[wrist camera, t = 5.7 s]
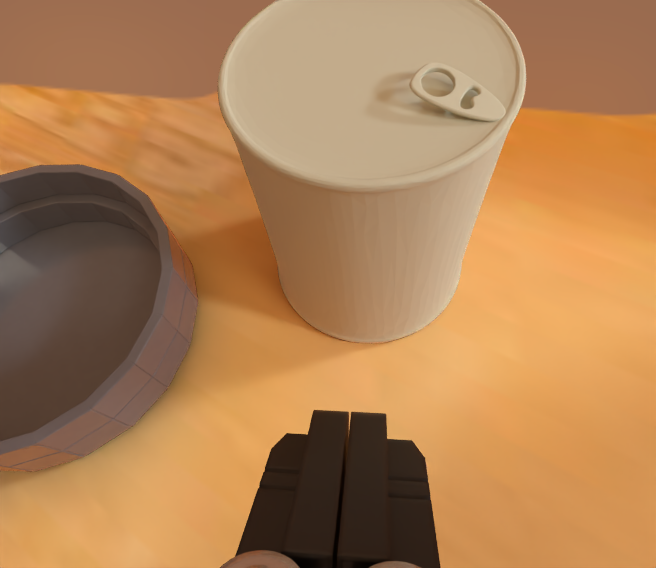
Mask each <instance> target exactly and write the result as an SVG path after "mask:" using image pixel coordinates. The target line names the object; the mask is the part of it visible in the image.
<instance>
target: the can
mask: <svg viewBox="0 0 656 568" xmlns="http://www.w3.org/2000/svg"><path fill="white" fill-rule="evenodd" d="M525 87H526V66H525V61H524V57H523V54H522V51H521V48H520V45H519V43H518V41H517V39H516V37H515V36H514V34H513V33H512V31H511V30H510V28H509V27H508V26H507V24H506V23H505V22H504V21H503V20H502V19H501V18H500V17H499V16H498V15H497V14H496V13H495V12H494V11H493V10H491V9H490V8H489V7H487V6H486V5H485V4H483V3H482V2H481V1H479V0H277V1H275V2H273V3H272V4H270V5H269V6H267V7H266V8H264V9H263V10H261V11H260V12H259V13H258V14H256V15H255V16H254V17H253V18H252V19H251V20H250V21H248V22H247V24H246V25H245V26H244V27H243V28H242V29H241V30H240V31H239V32H238V34H237V35H236V37H235V38H234V40H233V41H232V43H231V44H230V46H229V47H228V49H227V51H226V53H225V56H224V58H223V61H222V64H221V67H220V72H219V77H218V99H219V105H220V109H221V112H222V115H223V118H224V120H225V123H226V125H227V127H228V128H229V130H230V131H231V134H232V136H233V139H234V141H235V143H236V146H237V149H238V151H239V154H240V157H241V160H242V162H243V165H244V168H245V171H246V173H247V176H248V179H249V182H250V185H251V187H252V190H253V193H254V196H255V198H256V201H257V204H258V207H259V210H260V213H261V216H262V219H263V222H264V225H265V228H266V231H267V234H268V237H269V240H270V242H271V245H272V248H273V251H274V255H275V258H276V261H277V264H278V274H279V280H280V283H281V286H282V289H283V292H284V294H285V296H286V297H287V299H288V301H289V303H290V304H291V306H292V307H293V308H294V310H295V311H296V312H297V313H298V314H299V315H300V316H301V317H302V318H303V319H304V320H305V321H306V322H308V323H309V324H310V325H311V326H313V327H315V328H316V329H318V330H319V331H321V332H323V333H325V334H327V335H330V336H332V337H335V338H338V339H341V340H345V341H350V342H356V343H382V342H388V341H393V340H397V339H400V338H403V337H406V336H408V335H411V334H413V333H415V332H417V331H419V330H421V329H422V328H424V327H425V326H427V325H428V324H429V323H431V322H432V321H433V320H434V319H436V318H437V317H438V316H439V315H440V314H441V313H442V311H443V310H444V309H445V308H446V307H447V305H448V304H449V302H450V300H451V299H452V297H453V295H454V293H455V291H456V288H457V285H458V282H459V279H460V273H461V263H462V260H463V257H464V254H465V251H466V248H467V245H468V242H469V239H470V236H471V233H472V230H473V227H474V225H475V222H476V219H477V216H478V213H479V210H480V207H481V204H482V202H483V199H484V196H485V193H486V191H487V188H488V185H489V182H490V180H491V177H492V174H493V171H494V169H495V166H496V163H497V160H498V158H499V155H500V152H501V150H502V147H503V144H504V142H505V139H506V137H507V134H508V132H509V129H510V127H511V125H512V123H513V121H514V120H515V118H516V116H517V114H518V112H519V110H520V107H521V104H522V101H523V97H524V93H525Z"/></svg>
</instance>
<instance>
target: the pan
mask: <svg viewBox="0 0 656 568" xmlns="http://www.w3.org/2000/svg"><path fill="white" fill-rule="evenodd" d="M197 306H198V296H197V290H196V284H195V278H194V272H193V266H192V263H191V262H190V260H189V259H188V257H187V255H186V254H185V252H184V250H183V249H182V247H181V245H180V244H179V242H178V241H177V239H176V237H175V236H174V234H173V233H172V231H171V230H170V228H169V227H168V225H167V224H166V222H165V221H164V219H163V218H162V216H161V215H160V213H159V212H158V210H157V209H156V207H155V205H154V204H153V202H152V201H151V199H150V198H149V197H148V196H147V195H146V194H145V193H143V192H142V191H140V190H139V189H138V188H136V187H135V186H133V185H132V184H131V183H129V182H128V181H126V180H125V179H124V178H122V177H121V176H119V175H117V174H114V173H110V172H106V171H103V170H99V169H95V168H92V167H88V166H84V165H39V166H34V167H30V168H26V169H23V170H19V171H15V172H11V173H7V174H3V175H0V471H25V472H32V471H39V470H42V469H45V468H49V467H52V466H56V465H59V464H62V463H66V462H69V461H73V460H76V459H79V458H83V457H85V456H87V455H88V454H90V453H91V452H93V451H95V450H96V449H98V448H99V447H101V446H102V445H104V444H106V443H107V442H109V441H110V440H112V439H113V438H115V437H117V436H118V435H120V434H121V433H123V432H125V431H126V430H128V429H129V428H130V427H132V426H133V425H134V424H135V423H136V422H137V421H138V420H139V419H140V418H141V417H142V416H143V415H144V414H145V412H146V411H147V410H148V409H149V408H150V407H151V406H152V405H153V404H154V403H155V402H156V401H157V399H158V398H159V397H160V396H161V395H162V394H163V393H164V392H165V391H166V390H167V387H169V385H170V383H171V381H172V379H173V377H174V376H175V374H176V372H177V370H178V368H179V366H180V364H181V362H182V360H183V358H184V356H185V354H186V352H187V350H188V349H189V347H190V343H191V339H192V333H193V328H194V322H195V317H196V311H197Z"/></svg>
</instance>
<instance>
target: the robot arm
mask: <svg viewBox="0 0 656 568" xmlns="http://www.w3.org/2000/svg"><path fill="white" fill-rule="evenodd" d="M220 568H440V561H439V554H438V547H437V540H436V533H435V526H434V518H433V511H432V504H431V500H430V490H429V483H428V476H427V469H426V462H425V457H424V456H423V455H422V453H421V452H420V451H419V449H418V448H417V447H416V445H415V444H414V443H413V441H411V440H394V439H387V425H386V414H382V413H363V412H351V420H350V430H349V412H342V411H323V410H314V411H313V415H312V419H311V423H310V428H309V432H308V435H306V434H289V433H287V434H286V435H285V436H284V437H283V438H282V439H281V440H280V441H279V442H278V443H277V444H276V445H275V446H274V447H273V448H272V449H271V452H270V455H269V458H268V461H267V464H266V467H265V472H264V473H263V476H262V479H261V481H260V487H259V488H258V490H257V493H256V496H255V499H254V502H253V505H252V508H251V511H250V514H249V517H248V520H247V523H246V526H245V529H244V532H243V535H242V538H241V541H240V544H239V547H238V550H237V553H236V555H235V557H234V558H232V559H230V560H229V561H228V562H226V563H225V564H223V565H222V566H221V567H220Z"/></svg>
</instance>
